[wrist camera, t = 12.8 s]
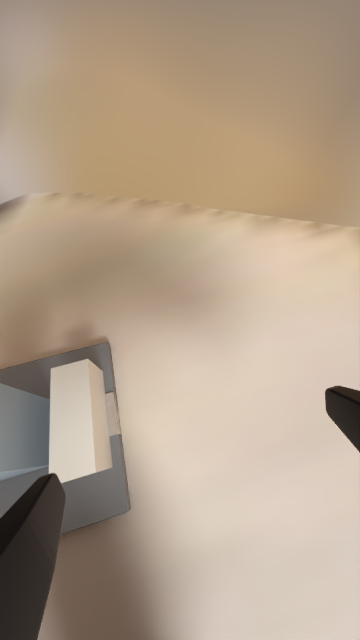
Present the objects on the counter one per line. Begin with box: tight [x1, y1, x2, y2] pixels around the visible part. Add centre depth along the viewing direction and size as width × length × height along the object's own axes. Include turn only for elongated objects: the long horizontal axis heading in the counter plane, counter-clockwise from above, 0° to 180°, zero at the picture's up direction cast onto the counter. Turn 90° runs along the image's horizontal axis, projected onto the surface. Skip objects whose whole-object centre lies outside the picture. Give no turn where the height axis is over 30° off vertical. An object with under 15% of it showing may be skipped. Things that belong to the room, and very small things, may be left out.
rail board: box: [0, 342, 130, 534], centre depth 18 cm, size 14×15×4 cm
